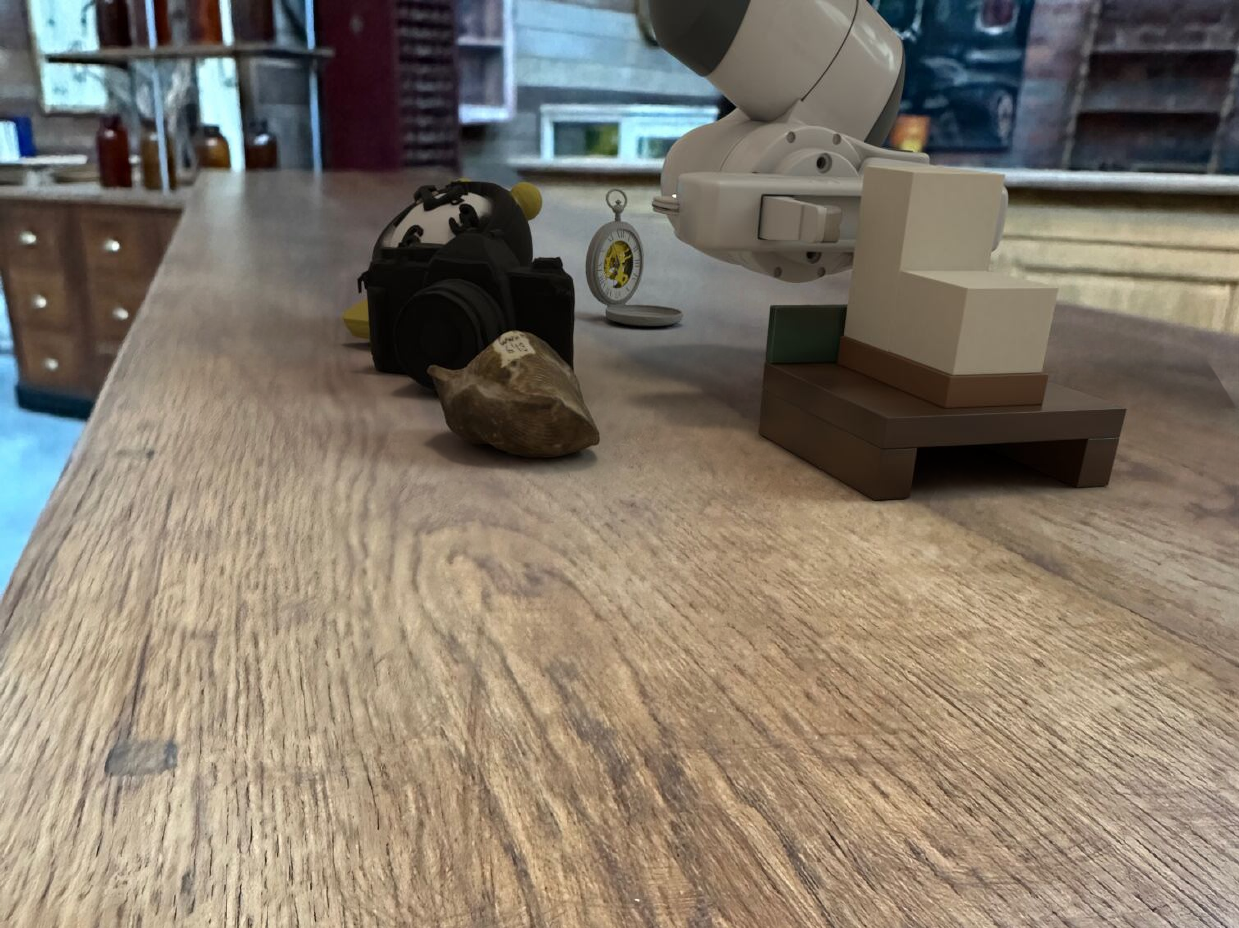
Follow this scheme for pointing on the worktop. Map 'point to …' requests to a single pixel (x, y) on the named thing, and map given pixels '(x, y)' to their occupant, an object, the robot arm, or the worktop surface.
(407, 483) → the worktop surface
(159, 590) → the worktop surface
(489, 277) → the film camera
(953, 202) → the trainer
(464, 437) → the fossilized seashell
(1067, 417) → the low wooden bench
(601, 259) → the pocket watch
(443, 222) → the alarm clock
